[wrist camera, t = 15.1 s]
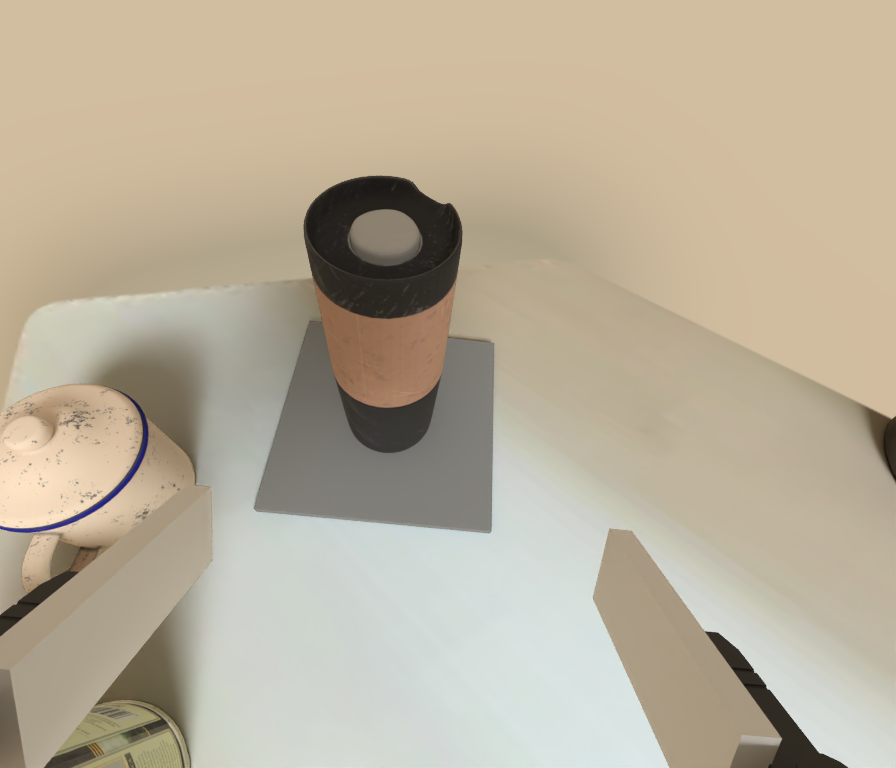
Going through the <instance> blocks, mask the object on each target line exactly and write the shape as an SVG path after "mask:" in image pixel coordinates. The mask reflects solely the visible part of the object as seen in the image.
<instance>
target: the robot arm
mask: <svg viewBox="0 0 896 768" xmlns="http://www.w3.org/2000/svg"><path fill="white" fill-rule="evenodd" d="M885 448H886V453H887V457H888V460H889V463H890V466H891V468H892V470H893V472H894V474H895V476H896V417H894V418H893V419H892V420H891V421H890V423H889V425H888V427H887V429H886V433H885ZM211 562H212V504H211V487H208V486H198V485H189V484H187V485H186V486H185V487H183V488H182V489H181V490H180V491H178V492H177V493H176V494H175V495H173V496H172V497H171V498H170V499H169V500H167V501H166V502H165V503H164V504H162V505H161V506H160V507H159V508H158V509H156V510H155V511H154V512H153V513H151V514H150V515H149V516H148V517H146V518H145V519H144V520H143V521H142V522H140V523H139V524H138V525H137V526H135V527H134V528H133V529H132V530H131V531H129V532H128V533H127V534H126V535H124V536H123V537H122V538H121V539H119V540H118V541H117V542H116V543H115V544H113V545H112V546H111V547H110V548H108V549H107V550H106V551H105V552H103V553H102V554H101V555H100V556H99V557H97V558H96V559H95V560H94V561H92V562H91V563H90V564H89V565H88V566H86V567H85V568H84V569H83V570H81V571H80V572H74V571H66V572H64V573H62V574H60V575H58V576H56V577H54V578H52V579H50V580H48V581H46V582H44V583H42V584H40V585H39V586H37V587H36V588H35V589H34V590H32V591H31V592H30V593H28V594H27V595H26V596H24V597H23V598H22V599H20V600H19V601H18V603H17V605H13V606H11V607H10V608H9V609H7V610H6V611H5V612H3V613H2V614H1V615H0V768H44V767H45V766H46V764H47V763H48V762H49V761H50V759H51V758H52V757H53V756H54V755H55V753H56V752H57V751H58V750H59V748H60V747H61V746H62V745H63V744H64V742H65V741H66V740H67V739H68V737H69V736H70V735H71V734H72V732H73V731H74V730H75V729H76V728H77V726H78V725H79V724H80V723H81V721H82V720H83V719H84V718H85V716H86V715H87V714H88V713H89V712H90V710H91V709H92V708H93V707H94V705H95V704H96V703H97V702H98V700H99V699H100V698H101V697H102V696H103V694H104V693H105V692H106V691H107V689H108V688H109V687H110V686H111V685H112V683H113V682H114V681H115V680H116V678H117V677H118V676H119V675H120V673H121V672H122V671H123V670H124V669H125V667H126V666H127V665H128V664H129V662H130V661H131V660H132V659H133V657H134V656H135V655H136V654H137V653H138V651H139V650H140V649H141V648H142V646H143V645H144V644H145V643H146V642H147V640H148V639H149V638H150V637H151V635H152V634H153V633H154V632H155V630H156V629H157V628H158V627H159V626H160V624H161V623H162V622H163V621H164V619H165V618H166V617H167V616H168V614H169V613H170V612H171V611H172V610H173V608H174V607H175V606H176V605H177V603H178V602H179V601H180V600H181V598H182V597H183V596H184V595H185V594H186V592H187V591H188V590H189V589H190V587H191V586H192V585H193V584H194V583H195V581H196V580H197V579H198V578H199V576H200V575H201V574H202V573H203V571H204V570H205V569H206V568H207V567H208V565H209V564H210V563H211ZM593 600H594V602H595V604H596V606H597V609H598V611H599V613H600V615H601V617H602V620H603V622H604V624H605V626H606V628H607V631H608V633H609V635H610V637H611V639H612V642H613V644H614V646H615V648H616V650H617V653H618V655H619V657H620V659H621V661H622V664H623V666H624V668H625V670H626V672H627V675H628V677H629V679H630V681H631V684H632V686H633V688H634V690H635V692H636V695H637V697H638V699H639V701H640V703H641V706H642V708H643V710H644V712H645V714H646V717H647V719H648V721H649V723H650V725H651V728H652V730H653V732H654V734H655V736H656V739H657V741H658V743H659V745H660V748H661V750H662V752H663V754H664V756H665V759H666V761H667V763H668V765H669V767H670V768H848V767H846V766H845V765H844V764H842V763H841V762H839V761H837V760H835V759H833V758H831V757H829V756H826V755H824V754H820V753H819V752H818V751H817V750H816V749H815V747H814V746H813V745H812V744H811V742H810V741H809V740H808V738H807V737H806V736H805V735H804V733H803V732H802V731H801V729H800V728H799V727H798V726H797V724H796V723H795V722H794V720H793V719H792V718H791V717H790V715H789V714H788V713H787V711H786V710H785V709H784V708H783V706H782V705H781V704H780V702H779V701H778V700H777V699H776V697H775V696H774V695H773V693H772V692H771V691H770V690H767V688H766V684H765V683H764V682H763V681H762V679H761V678H760V677H759V675H758V674H757V673H754V669H753V668H752V666H751V665H750V664H749V663H748V661H747V660H746V659H745V657H744V656H743V655H742V654H741V652H740V651H739V650H738V649H737V648H736V647H735V646H733V645H732V644H731V643H730V642H729V641H727V640H726V639H725V638H724V637H723V636H721V635H720V634H719V633H716V632H706V631H704V630H703V629H702V627H701V626H700V624H699V623H698V622H697V620H696V619H695V617H694V616H693V615H692V613H691V612H690V611H689V609H688V608H687V606H686V605H685V604H684V602H683V601H682V599H681V598H680V597H679V595H678V594H677V593H676V591H675V590H674V588H673V587H672V586H671V584H670V583H669V582H668V580H667V579H666V577H665V576H664V575H663V573H662V572H661V570H660V569H659V568H658V566H657V565H656V564H655V562H654V561H653V559H652V558H651V557H650V555H649V554H648V553H647V551H646V550H645V548H644V547H643V546H642V544H641V543H640V541H639V540H638V539H637V537H636V536H635V535H634V533H633V532H632V531H628V530H618V529H609V532H608V537H607V541H606V545H605V549H604V553H603V557H602V562H601V566H600V570H599V574H598V578H597V582H596V587H595V591H594V595H593Z"/></svg>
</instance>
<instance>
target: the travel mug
mask: <svg viewBox="0 0 896 768" xmlns="http://www.w3.org/2000/svg"><path fill="white" fill-rule="evenodd" d="M304 238H305V244H306V248H307V252H308V257H309V262H310V267H311V271H312V276H313V281H314V285H315V290H316V295H317V299H318V304H319V309H320V313H321V318H322V323H323V327H324V332H325V336H326V341H327V346H328V350H329V355H330V360H331V364H332V369H333V373H334V376H335V380H336V383H337V387H338V390H339V393H340V397H341V400H342V404H343V407H344V410H345V414H346V417H347V420H348V423H349V426H350V429H351V431H352V433H353V434H354V436H355V437H356V439H357V440H358V441H359V442H360V443H362V444H363V445H364V446H366V447H367V448H369V449H371V450H374V451H377V452H382V453H396V452H401V451H404V450H406V449H409V448H411V447H412V446H414V445H415V444H417V443H418V442H419V441H420V440H421V439H422V438H423V437H424V435H425V434H426V432H427V430H428V428H429V425H430V422H431V418H432V414H433V410H434V405H435V401H436V397H437V392H438V388H439V383H440V379H441V375H442V370H443V365H444V358H445V352H446V345H447V338H448V332H449V325H450V318H451V312H452V305H453V298H454V292H455V285H456V279H457V272H458V265H459V259H460V252H461V246H462V225H461V221H460V218H459V216H458V214H457V211H456V210H455V208H454V207H453V205H452V204H450V203H448V204H440V203H438V202H436V201H434V200H433V199H431V198H429V197H428V196H426V195H424V194H423V193H422V192H420V191H419V190H418V188H417V187H416V185H415V184H414V183H413V182H411V181H410V180H407V179H404V178H399V177H392V176H367V177H359V178H354V179H351V180H347V181H344V182H341V183H339V184H336V185H334V186H332V187H331V188H329V189H327V190H326V191H325V192H323V193H322V194H321V195H319V196H318V197H317V198H316V199H315V200H314V201H313V203H312V204H311V205H310V207H309V209H308V211H307V213H306V217H305V220H304Z"/></svg>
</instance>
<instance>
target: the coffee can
mask: <svg viewBox="0 0 896 768" xmlns="http://www.w3.org/2000/svg"><path fill="white" fill-rule="evenodd" d="M44 768H190V758H189V755H188V752H187V748H186V744H185V741H184V739H183V736H182V734H181V732H180V730H179V728H178V727H177V725H176V724H175V723H174V721H173V720H172V719H171V718H170V717H169V716H168V715H167V714H166V713H164V712H163V711H162V710H160V709H158V708H157V707H156V706H154V705H151V704H148V703H144V702H141V701H134V700H117V701H110V702H105V703H101V704H97V705H95V706H94V707H93V708H92V709H91V710H90V712H89V713H88V714H87V715H86V716H85V718H84V719H83V720H82V721H81V723H80V724H79V725H78V726H77V728H76V729H75V730H74V731H73V732H72V734H71V735H70V736H69V737H68V739H67V740H66V741H65V742H64V744H63V745H62V746H61V747H60V748H59V750H58V751H57V752H56V753H55V755H54V756H53V757H52V758H51V759H50V761H49V762H48V763H47V764H46V766H45V767H44Z"/></svg>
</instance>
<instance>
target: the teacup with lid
mask: <svg viewBox="0 0 896 768" xmlns="http://www.w3.org/2000/svg"><path fill="white" fill-rule="evenodd" d="M187 484H189V485H195V472H194V468H193V465H192V462H191V460H190V459H189V457H188V456H187V454H186V453H185V452H184V451H183V450H182V449H181V448H180V447H179V446H178V445H176V444H175V443H174V442H173V441H172V440H171V439H170V438H169V437H168V436H167V435H165V434H164V433H163V432H162V431H161V430H160V429H159V428H158V427H157V426H155V425H154V424H153V423H152V422H151V421H150V420H149V419H148V418H147V417H145V414H144V413H143V411H142V409H141V408H140V406H139V405H138V404H137V403H136V402H135V401H134V400H133V399H132V398H130V397H129V396H127V395H126V394H124V393H122V392H120V391H118V390H115V389H112V388H108V387H105V386H101V385H94V384H71V385H63V386H58V387H54V388H50V389H47V390H43V391H41V392H38V393H35V394H33V395H31V396H29V397H26V398H24V399H23V400H21V401H19V402H17V403H15V404H14V405H12V406H11V407H9V408H8V409H6V410H5V411H3V412H2V413H1V414H0V529H3V530H7V531H12V532H23V533H30V532H31V533H34V536H33V538H32V540H31V543H30V545H29V547H28V549H27V552H26V554H25V557H24V560H23V564H22V571H21V577H22V583H23V587H24V589H25V590H26V592H27V593H30V592H31V591H32V590H34V589H35V588H36V587H37V586H39V585H40V584H42V583H44V582H46V581H48V580H50V579H52V578H51V573H50V566H51V561H52V557H53V554H54V552H55V549H56V547H57V544H58V542H59V541H61V542H65V543H68V544H71V545H75V546H78V547H80V550H79V552H78V554H77V557H76V559H75V561H74V563H73V565H72V566H71V568H70V569H69V571H74V572H80V571H81V570H83V569H84V568H85V567H86V566H88V565H89V564H90V563H91V562H92V561H94V560H95V559H96V558H97V557H99V556H100V555H101V553H103V552H105V551H106V550H107V549H108V548H110V547H111V546H112V545H113V544H115V543H116V542H117V541H118V540H119V539H121V538H122V537H123V536H124V535H126V534H127V533H128V532H129V531H131V530H132V529H133V528H134V527H135V526H137V525H138V524H139V523H140V522H142V521H143V520H144V519H145V518H146V517H148V516H149V515H150V514H151V513H153V512H154V511H155V510H156V509H158V508H159V507H160V506H161V505H162V504H164V503H165V502H166V501H167V500H169V499H170V498H171V497H172V496H173V495H175V494H176V493H177V492H178V491H180V490H181V489H182V488H183V487H185V486H186V485H187Z"/></svg>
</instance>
